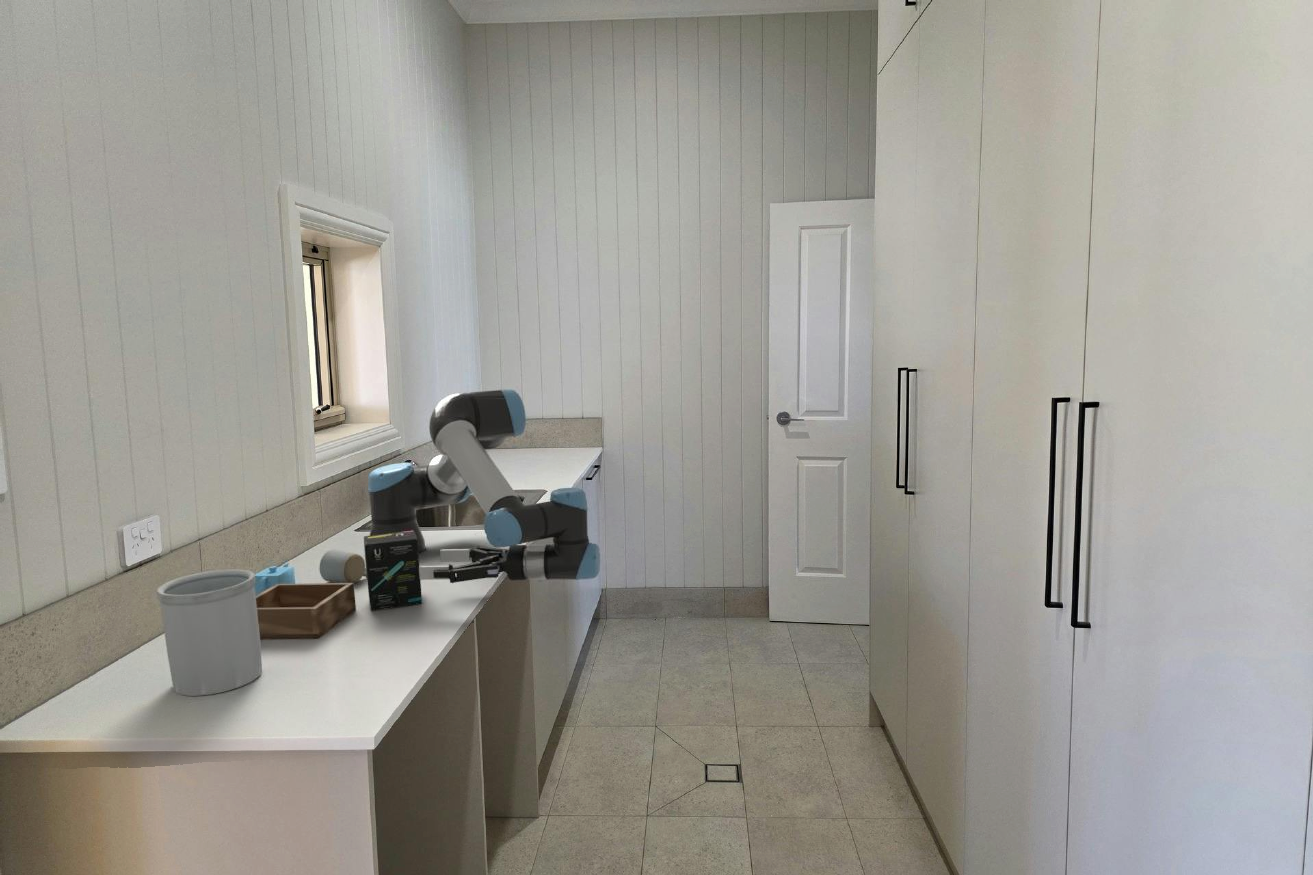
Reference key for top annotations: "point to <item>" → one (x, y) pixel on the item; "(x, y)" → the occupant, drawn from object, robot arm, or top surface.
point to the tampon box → (392, 570)
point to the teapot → (273, 577)
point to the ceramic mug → (342, 566)
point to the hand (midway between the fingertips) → (430, 564)
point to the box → (303, 609)
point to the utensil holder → (211, 631)
